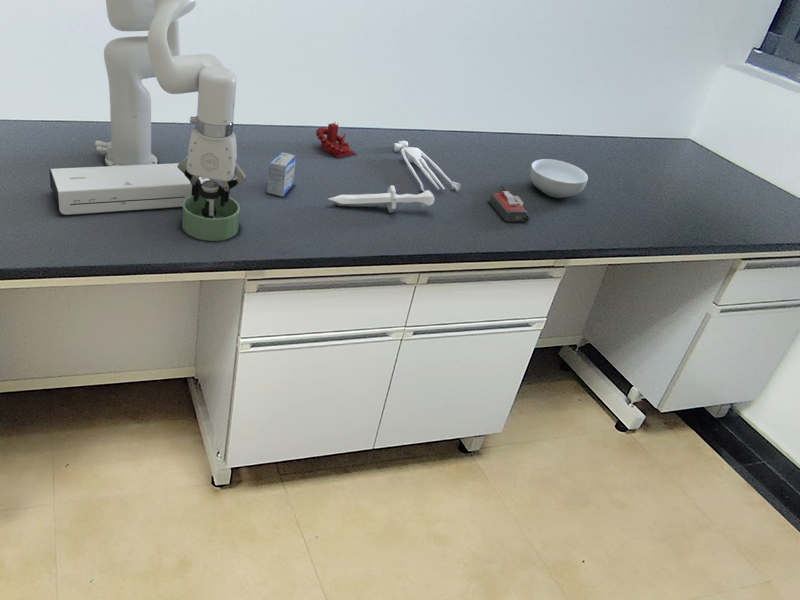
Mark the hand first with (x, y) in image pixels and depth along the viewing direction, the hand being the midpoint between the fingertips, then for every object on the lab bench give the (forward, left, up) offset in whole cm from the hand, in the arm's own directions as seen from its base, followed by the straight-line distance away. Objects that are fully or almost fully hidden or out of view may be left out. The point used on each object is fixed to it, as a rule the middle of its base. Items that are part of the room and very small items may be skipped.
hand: (210, 200), depth 174 cm
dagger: (+38, +23, -7) cm, 45 cm away
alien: (+48, +53, -7) cm, 72 cm away
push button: (0, 0, -6) cm, 6 cm away
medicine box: (+12, +25, -7) cm, 28 cm away
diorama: (+23, +56, -7) cm, 61 cm away
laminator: (-20, +7, -7) cm, 22 cm away
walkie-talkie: (+73, +39, -7) cm, 83 cm away
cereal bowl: (+89, +55, -7) cm, 105 cm away
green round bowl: (0, 0, -6) cm, 7 cm away
